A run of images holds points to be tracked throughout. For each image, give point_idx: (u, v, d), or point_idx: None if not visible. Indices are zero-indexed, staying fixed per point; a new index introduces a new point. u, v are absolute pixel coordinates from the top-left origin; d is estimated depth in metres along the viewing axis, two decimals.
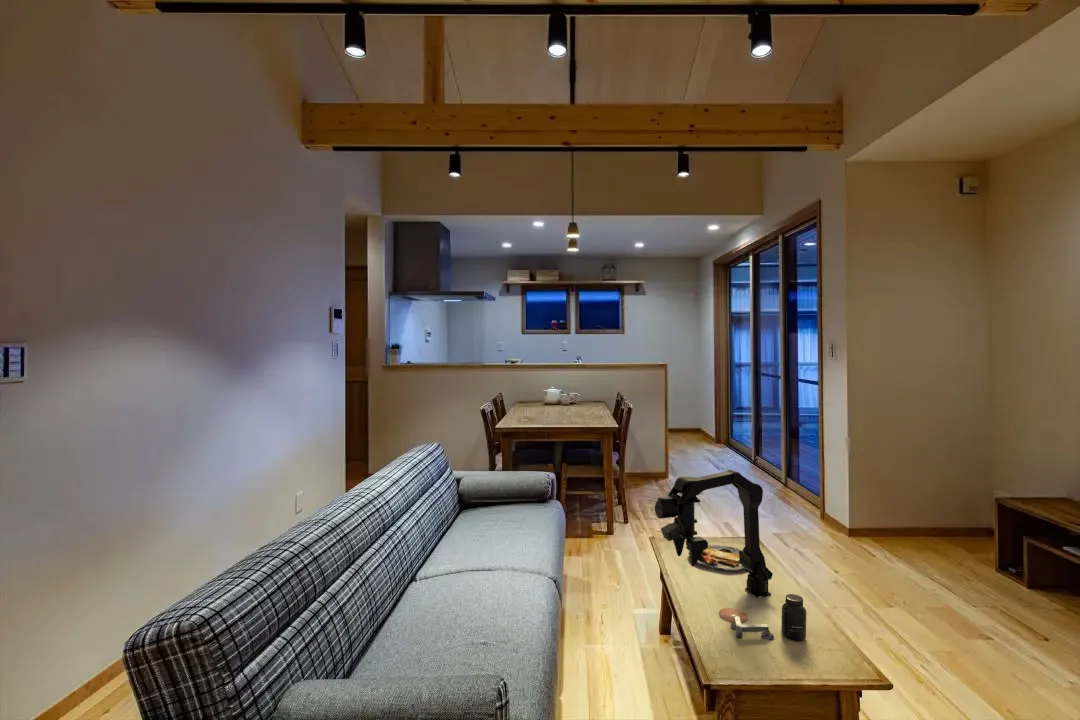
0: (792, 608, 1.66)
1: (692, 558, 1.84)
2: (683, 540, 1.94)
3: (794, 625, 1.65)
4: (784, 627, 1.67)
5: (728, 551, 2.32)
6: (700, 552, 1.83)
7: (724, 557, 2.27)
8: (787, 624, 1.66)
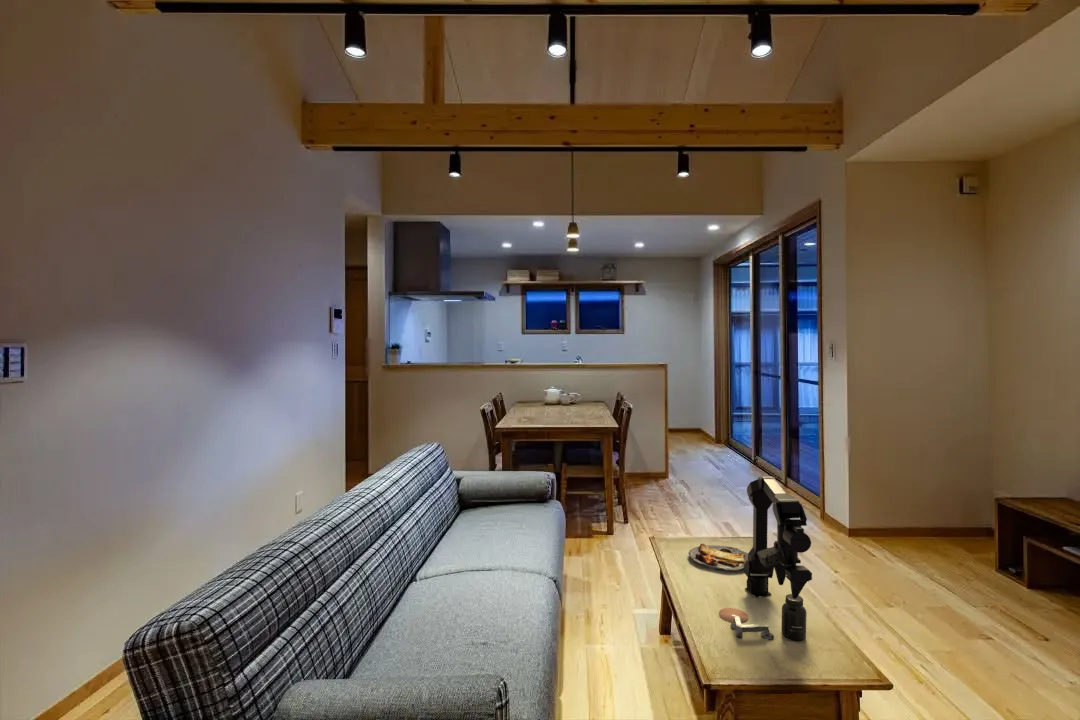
0: (792, 608, 1.66)
1: (793, 589, 1.63)
2: (786, 568, 1.73)
3: (794, 625, 1.65)
4: (784, 627, 1.67)
5: (728, 551, 2.32)
6: (803, 583, 1.62)
7: (724, 557, 2.27)
8: (787, 624, 1.66)
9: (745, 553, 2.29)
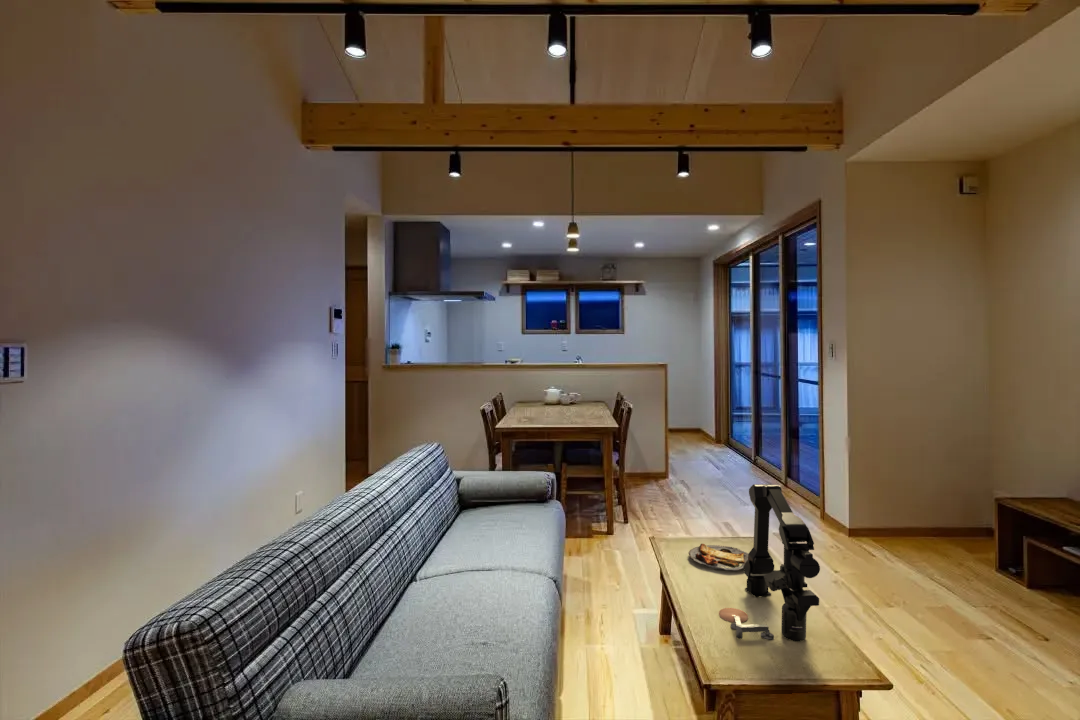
0: (792, 608, 1.66)
1: (798, 612, 1.63)
2: None
3: (794, 625, 1.65)
4: (784, 627, 1.67)
5: (728, 551, 2.32)
6: (808, 606, 1.62)
7: (724, 557, 2.27)
8: (787, 624, 1.66)
9: (745, 553, 2.29)
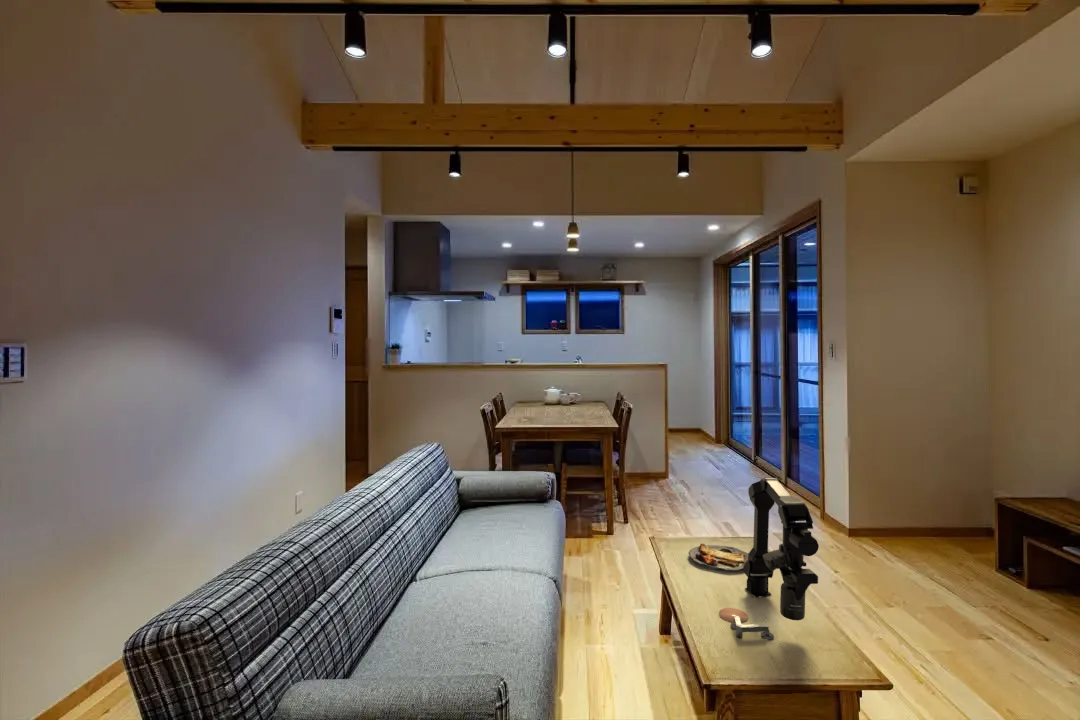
0: (790, 587, 1.66)
1: (797, 591, 1.63)
2: None
3: (793, 604, 1.65)
4: (783, 606, 1.67)
5: (728, 551, 2.32)
6: (807, 585, 1.62)
7: (724, 557, 2.27)
8: (786, 603, 1.66)
9: (745, 553, 2.29)
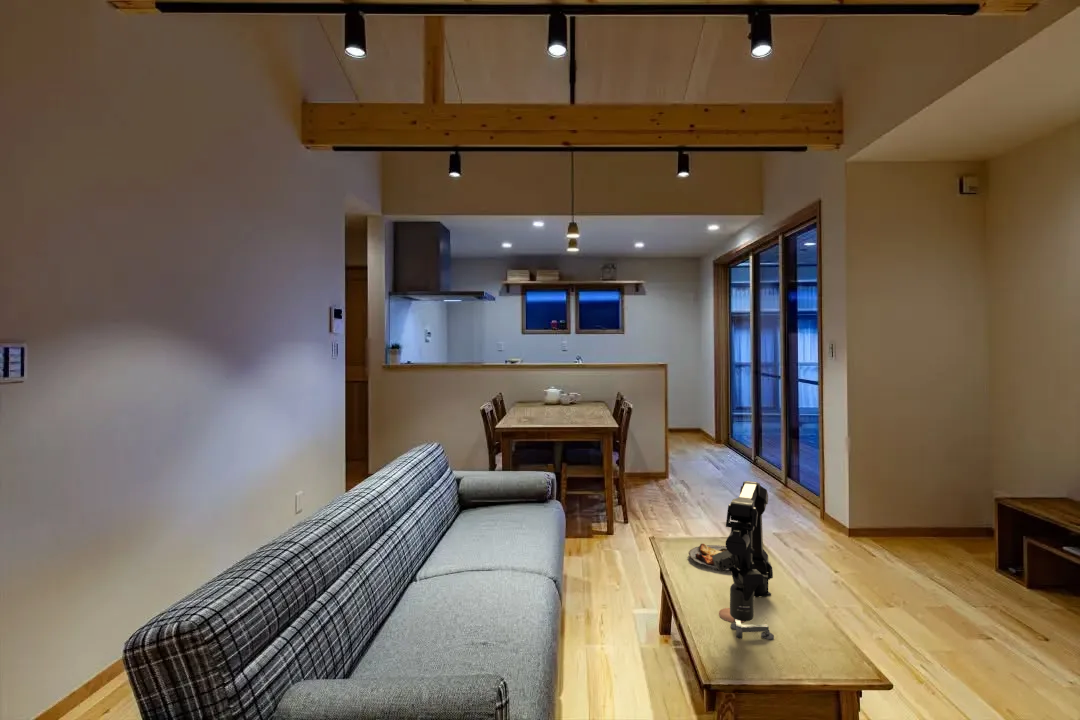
0: (739, 588, 1.65)
1: (745, 591, 1.63)
2: None
3: (741, 605, 1.64)
4: (732, 606, 1.66)
5: None
6: (754, 586, 1.62)
7: None
8: (735, 604, 1.65)
9: None
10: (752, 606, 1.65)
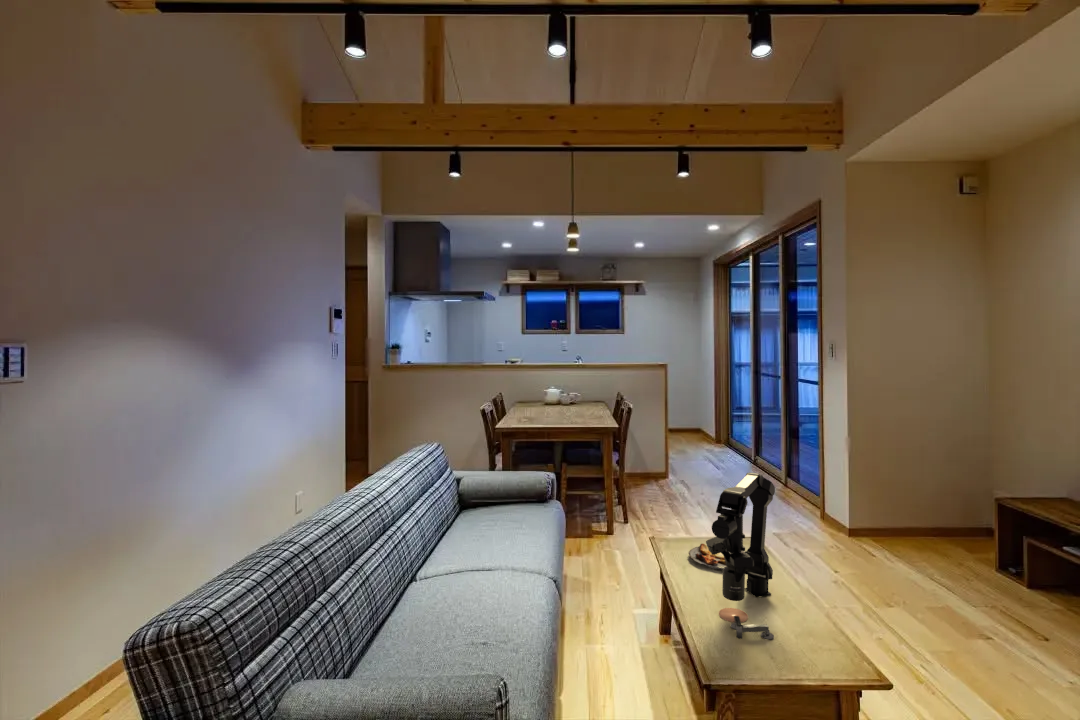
0: (731, 570, 1.78)
1: (736, 573, 1.76)
2: None
3: (732, 586, 1.77)
4: (724, 587, 1.79)
5: None
6: (745, 568, 1.75)
7: None
8: (727, 585, 1.79)
9: None
10: (743, 587, 1.78)
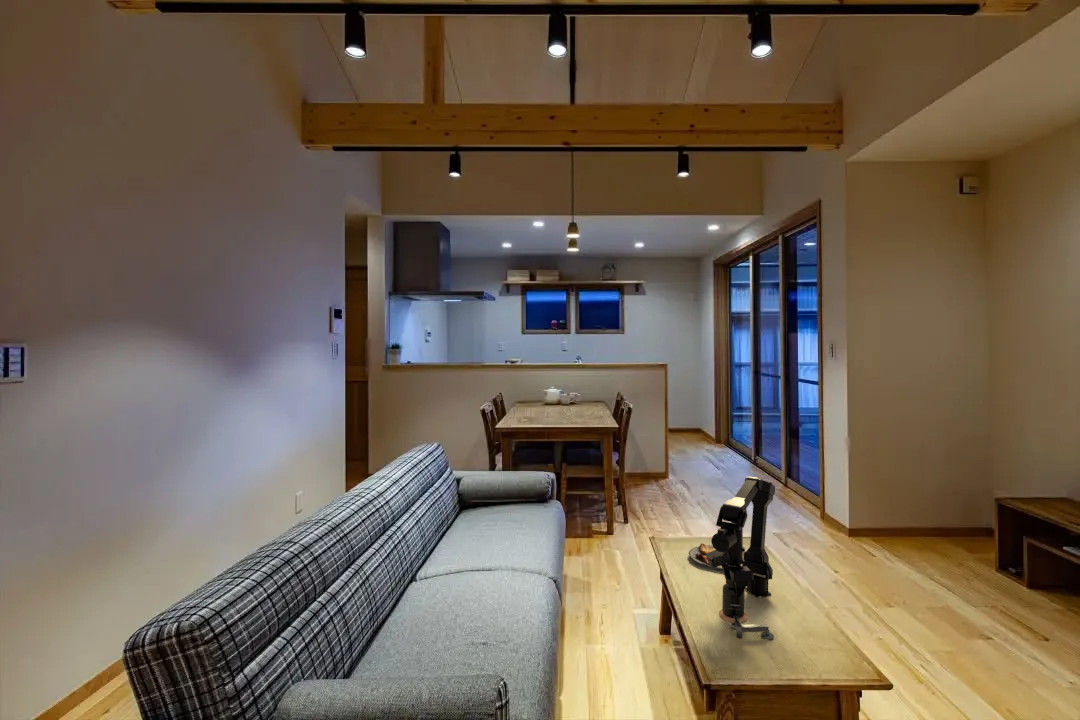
0: (730, 588, 1.79)
1: (737, 588, 1.75)
2: None
3: (732, 603, 1.78)
4: (724, 605, 1.80)
5: None
6: (746, 583, 1.74)
7: None
8: (726, 603, 1.79)
9: None
10: (742, 604, 1.79)
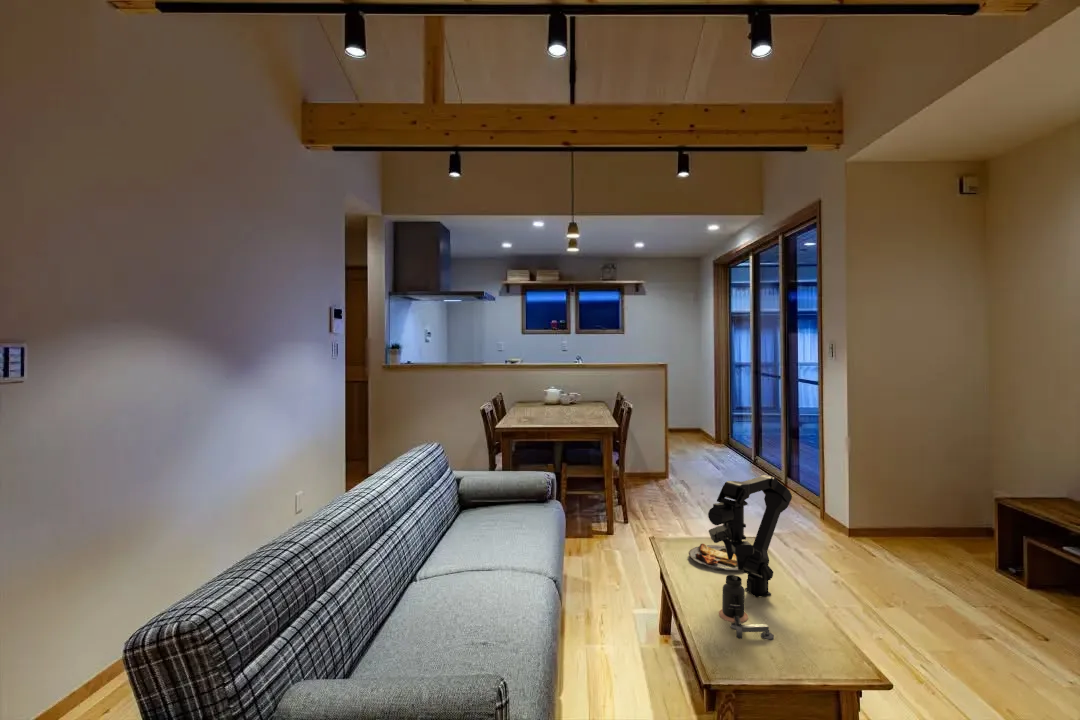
0: (730, 588, 1.79)
1: (738, 562, 1.84)
2: None
3: (732, 603, 1.78)
4: (724, 605, 1.80)
5: None
6: (747, 557, 1.83)
7: (724, 557, 2.27)
8: (726, 603, 1.79)
9: None
10: (742, 604, 1.79)
